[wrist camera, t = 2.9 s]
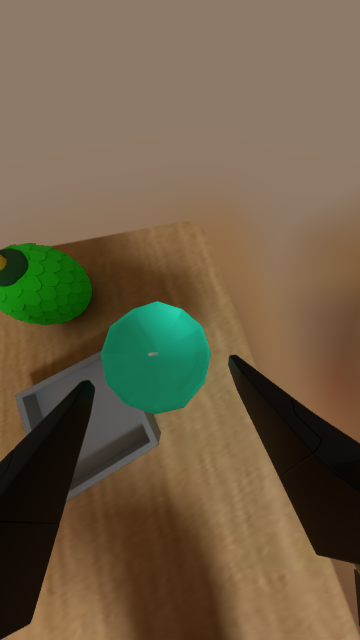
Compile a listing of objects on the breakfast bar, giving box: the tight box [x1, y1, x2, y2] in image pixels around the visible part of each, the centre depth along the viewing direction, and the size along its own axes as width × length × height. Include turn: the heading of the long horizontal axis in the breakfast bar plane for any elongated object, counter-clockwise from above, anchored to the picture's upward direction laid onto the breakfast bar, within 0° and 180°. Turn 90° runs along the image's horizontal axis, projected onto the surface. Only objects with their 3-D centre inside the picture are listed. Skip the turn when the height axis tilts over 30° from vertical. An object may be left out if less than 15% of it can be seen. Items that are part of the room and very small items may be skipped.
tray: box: [15, 351, 161, 501], centre depth 15 cm, size 11×11×2 cm
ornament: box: [0, 243, 92, 325], centre depth 14 cm, size 8×8×10 cm
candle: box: [101, 301, 211, 414], centre depth 12 cm, size 6×6×12 cm
